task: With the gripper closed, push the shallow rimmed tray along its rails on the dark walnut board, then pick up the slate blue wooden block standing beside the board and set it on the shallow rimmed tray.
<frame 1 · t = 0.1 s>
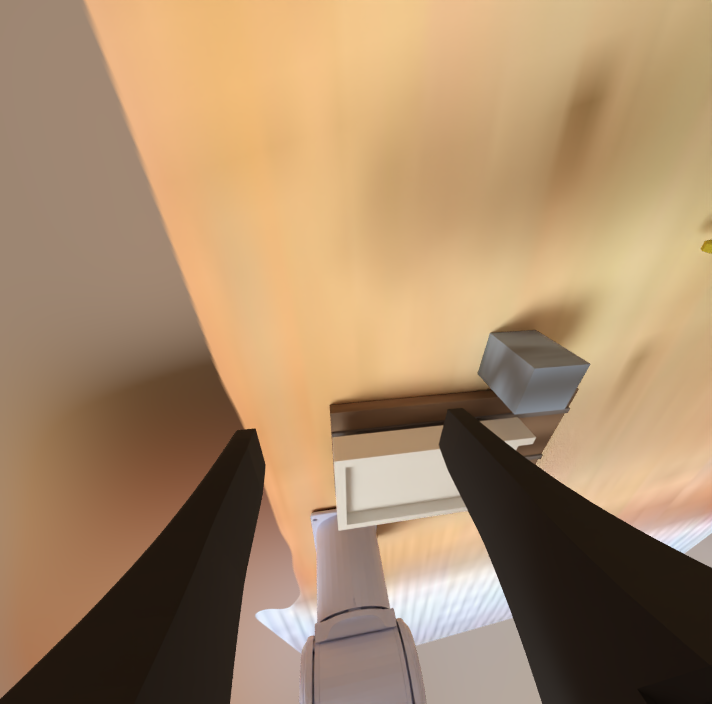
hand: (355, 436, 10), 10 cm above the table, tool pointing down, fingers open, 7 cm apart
block: (505, 352, 22), on the table
shallow rimmed tray: (422, 469, 24), point 3 cm above the table, slide at 0.0 cm
track board: (444, 438, 27), on the table
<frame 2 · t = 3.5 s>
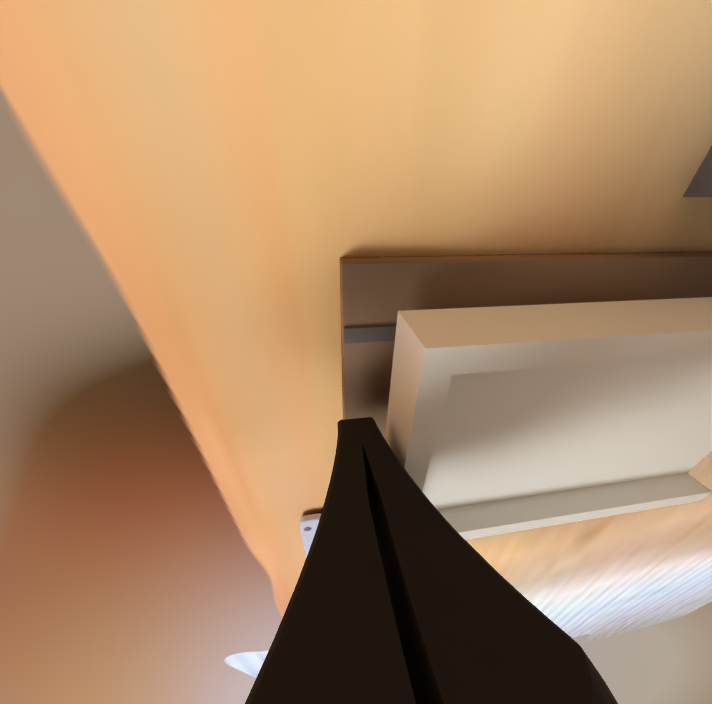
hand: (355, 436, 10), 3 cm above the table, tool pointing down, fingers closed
shallow rimmed tray: (575, 419, 11), point 3 cm above the table, slide at 1.5 cm, touching gripper
track board: (559, 372, 14), on the table
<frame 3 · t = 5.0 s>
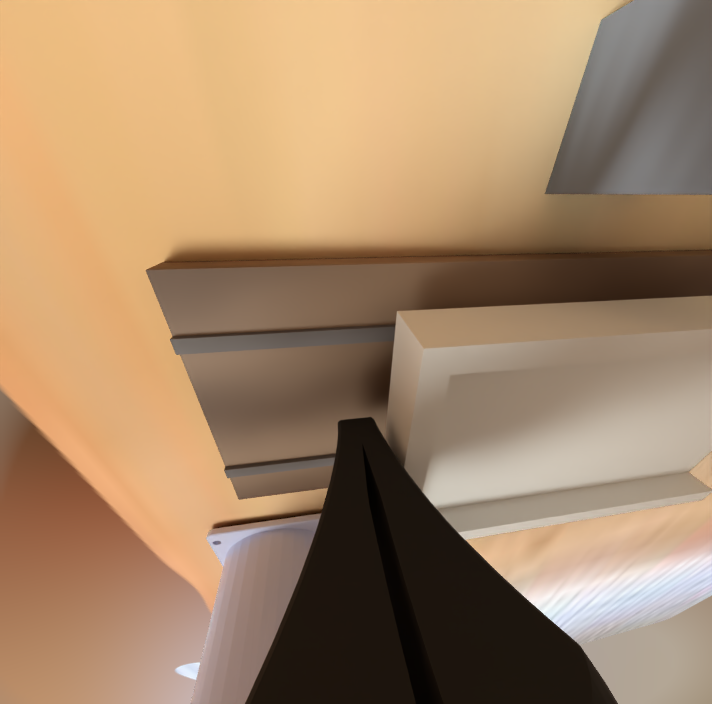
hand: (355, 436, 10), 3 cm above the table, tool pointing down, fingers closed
block: (624, 120, 8), on the table
shallow rimmed tray: (575, 418, 11), point 3 cm above the table, slide at 7.2 cm, touching gripper
track board: (457, 380, 13), on the table
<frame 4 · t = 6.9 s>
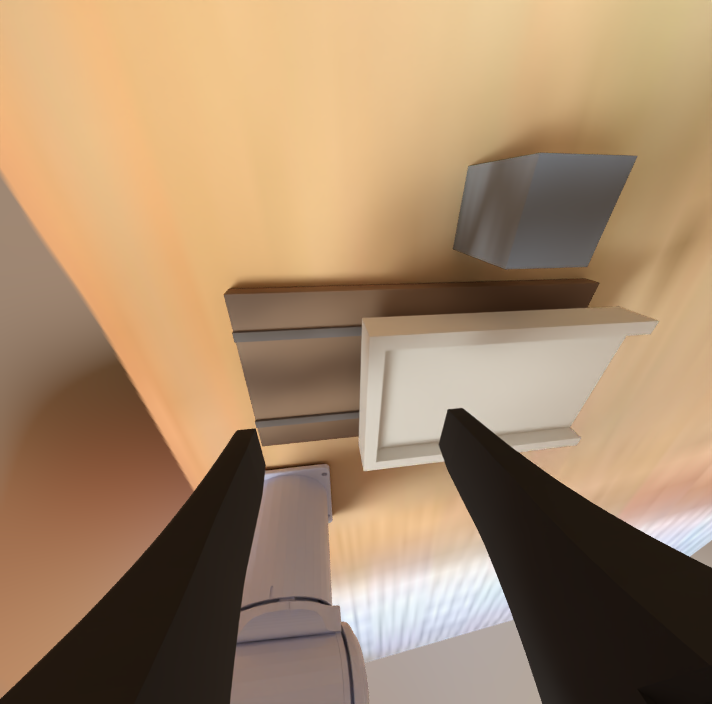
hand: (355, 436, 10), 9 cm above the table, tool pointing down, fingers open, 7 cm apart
block: (493, 210, 15), on the table
shallow rimmed tray: (481, 385, 17), point 3 cm above the table, slide at 7.2 cm
track board: (411, 363, 19), on the table
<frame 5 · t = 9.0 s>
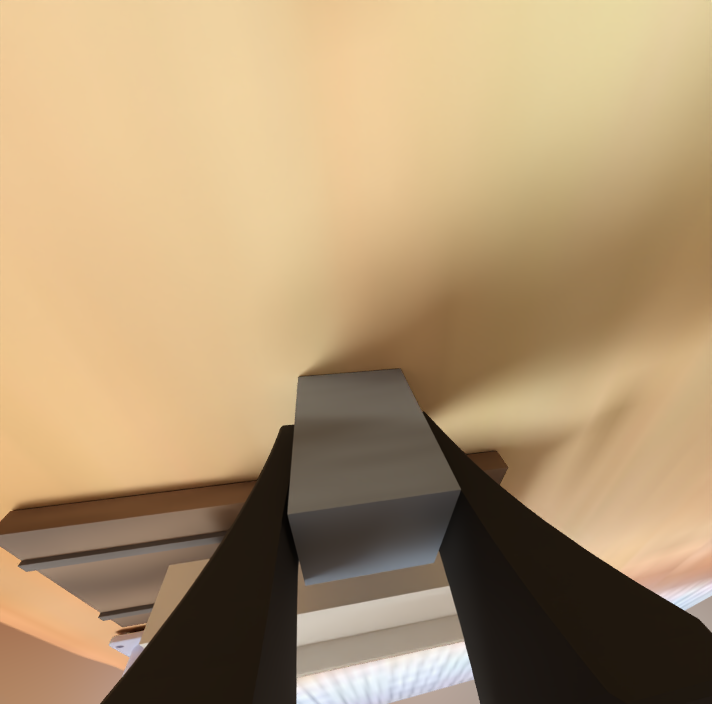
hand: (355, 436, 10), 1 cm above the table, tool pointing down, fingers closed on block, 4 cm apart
block: (350, 410, 11), on the table, touching gripper
shallow rimmed tray: (363, 591, 14), point 3 cm above the table, slide at 7.2 cm
track board: (294, 537, 16), on the table
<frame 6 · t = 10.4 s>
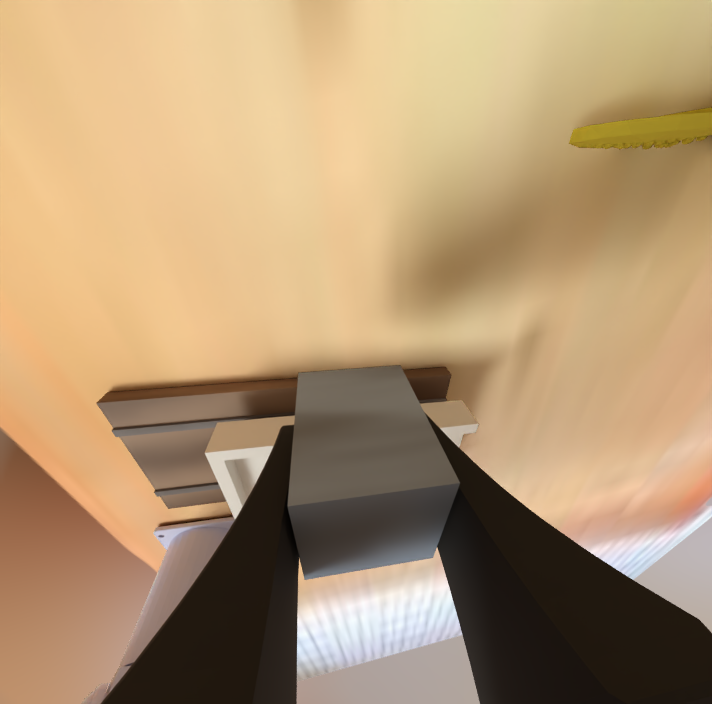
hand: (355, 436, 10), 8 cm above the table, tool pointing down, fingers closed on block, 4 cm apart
block: (350, 407, 11), point 7 cm above the table, touching gripper
shallow rimmed tray: (348, 465, 19), point 3 cm above the table, slide at 7.2 cm
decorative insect: (650, 117, 13), on the table
track board: (298, 437, 21), on the table
when the fingers open (6 cm above the table, at t = 11.9 s): block stays where it is, resting on shallow rimmed tray.
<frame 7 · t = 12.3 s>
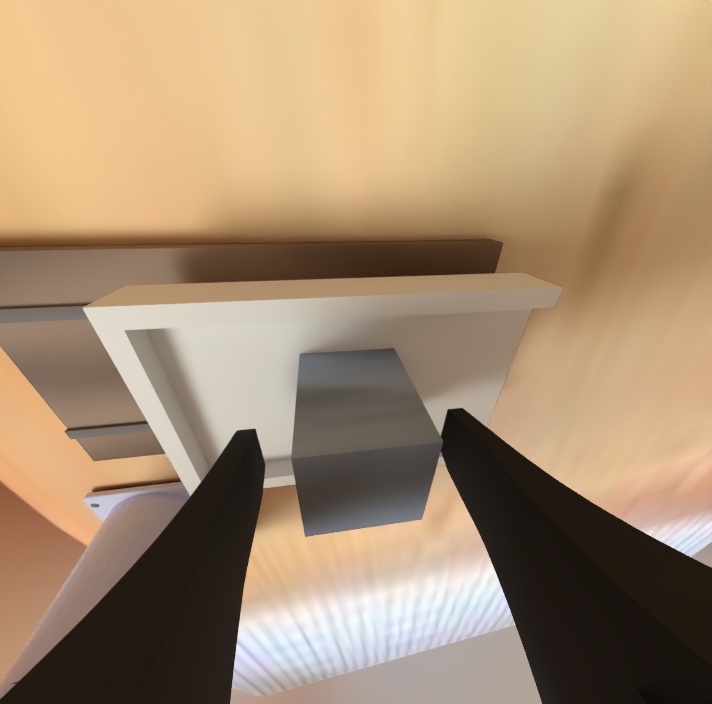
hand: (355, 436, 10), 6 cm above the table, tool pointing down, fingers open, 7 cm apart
block: (348, 388, 12), point 4 cm above the table, touching shallow rimmed tray
shallow rimmed tray: (346, 383, 13), point 3 cm above the table, slide at 7.2 cm, touching block
track board: (276, 355, 15), on the table
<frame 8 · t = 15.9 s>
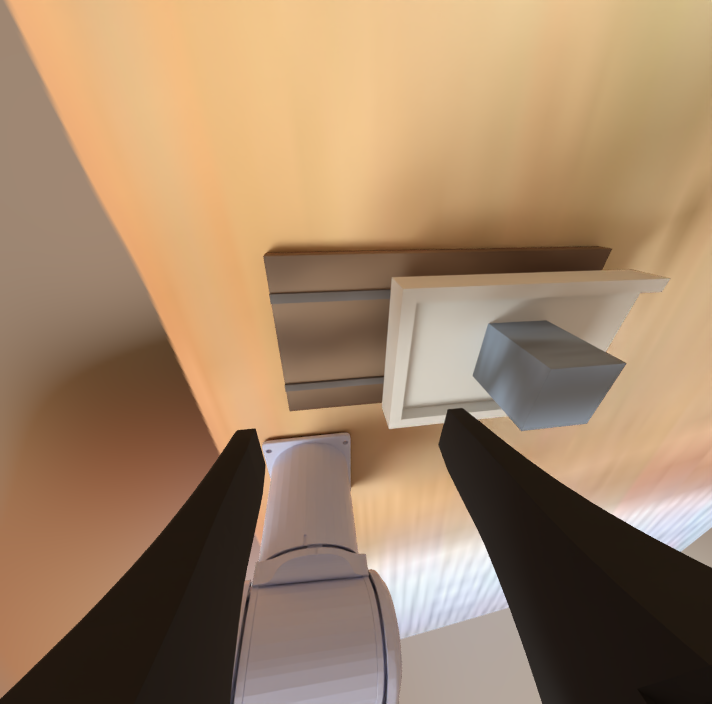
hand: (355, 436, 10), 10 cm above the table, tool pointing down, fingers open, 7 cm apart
block: (507, 349, 17), point 4 cm above the table, touching shallow rimmed tray
shallow rimmed tray: (500, 347, 18), point 3 cm above the table, slide at 7.2 cm, touching block
track board: (431, 331, 20), on the table
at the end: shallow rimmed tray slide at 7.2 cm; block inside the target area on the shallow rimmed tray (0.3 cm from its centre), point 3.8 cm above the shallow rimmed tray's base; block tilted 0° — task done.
